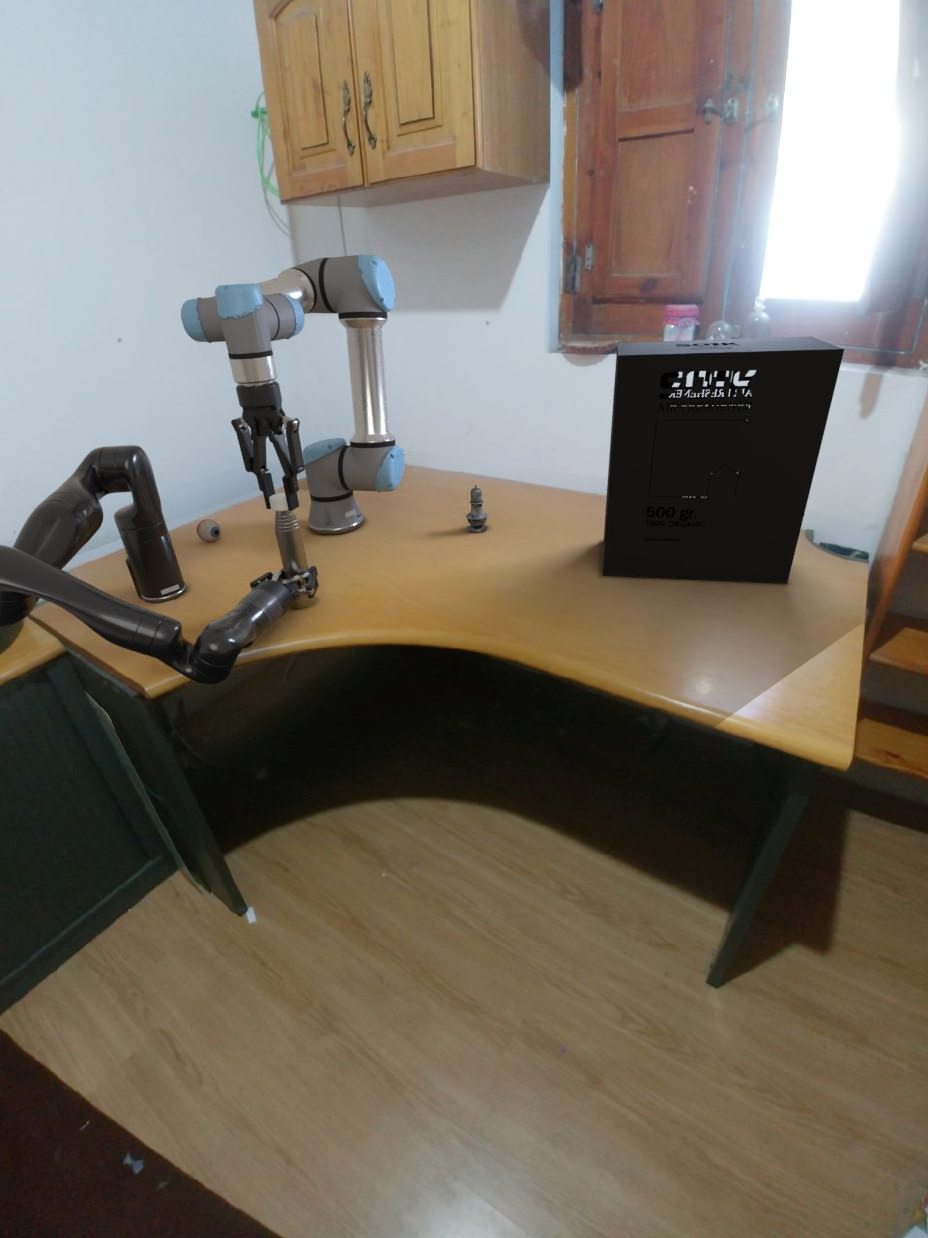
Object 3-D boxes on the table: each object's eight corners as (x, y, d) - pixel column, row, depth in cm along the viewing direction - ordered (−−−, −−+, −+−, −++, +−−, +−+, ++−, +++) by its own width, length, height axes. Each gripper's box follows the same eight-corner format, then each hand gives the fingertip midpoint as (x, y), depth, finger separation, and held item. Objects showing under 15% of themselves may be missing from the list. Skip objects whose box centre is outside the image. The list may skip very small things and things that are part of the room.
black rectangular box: (766, 545, 143) (811, 336, 120) (787, 583, 126) (844, 348, 103) (603, 539, 150) (617, 342, 128) (602, 575, 133) (618, 355, 111)
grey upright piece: (486, 532, 159) (485, 488, 152) (464, 532, 160) (462, 487, 154) (490, 524, 163) (488, 481, 157) (469, 523, 165) (466, 480, 159)
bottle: (286, 605, 129) (262, 500, 118) (302, 595, 133) (281, 492, 121) (303, 610, 127) (280, 503, 115) (319, 600, 131) (299, 495, 119)
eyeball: (210, 546, 160) (204, 525, 157) (195, 542, 163) (189, 521, 160) (228, 538, 164) (223, 518, 161) (213, 535, 167) (208, 514, 164)
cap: (266, 509, 119) (263, 498, 117) (283, 502, 122) (280, 491, 121) (282, 512, 116) (280, 501, 115) (299, 505, 120) (297, 494, 119)
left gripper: (234, 621, 118) (276, 583, 132) (301, 627, 115) (336, 586, 129) (225, 587, 114) (269, 551, 128) (294, 592, 111) (331, 554, 125)
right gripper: (310, 378, 108) (331, 503, 120) (229, 379, 113) (257, 498, 125) (286, 386, 102) (311, 517, 114) (202, 386, 107) (234, 511, 119)
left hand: (302, 569), depth 129 cm, fingers closed on bottle, 5 cm apart
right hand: (283, 507), depth 119 cm, fingers closed on cap, 4 cm apart
